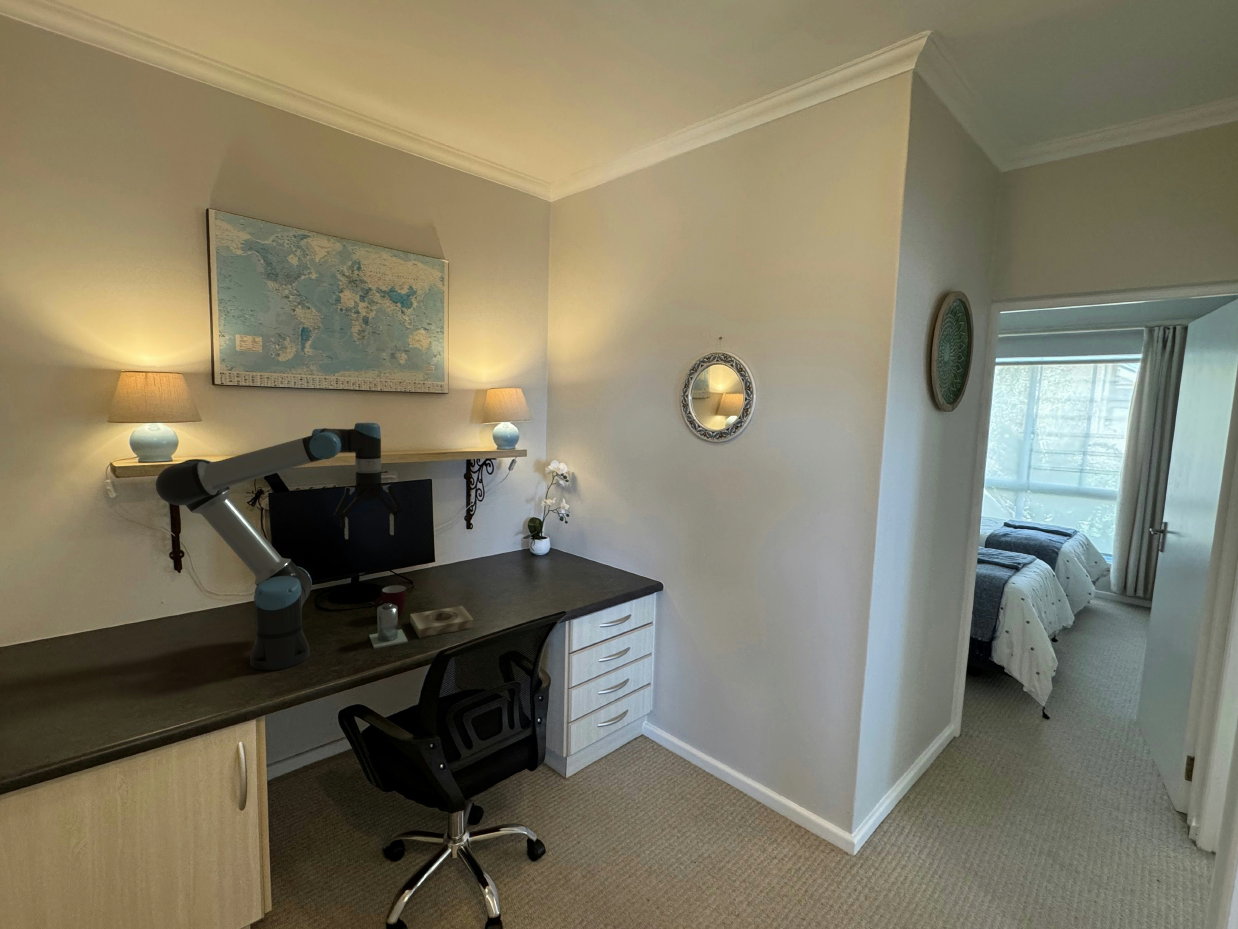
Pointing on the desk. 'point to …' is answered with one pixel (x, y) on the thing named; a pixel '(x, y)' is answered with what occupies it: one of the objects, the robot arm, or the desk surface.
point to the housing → (441, 621)
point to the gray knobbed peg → (387, 622)
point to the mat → (379, 644)
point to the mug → (393, 597)
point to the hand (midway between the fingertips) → (369, 536)
